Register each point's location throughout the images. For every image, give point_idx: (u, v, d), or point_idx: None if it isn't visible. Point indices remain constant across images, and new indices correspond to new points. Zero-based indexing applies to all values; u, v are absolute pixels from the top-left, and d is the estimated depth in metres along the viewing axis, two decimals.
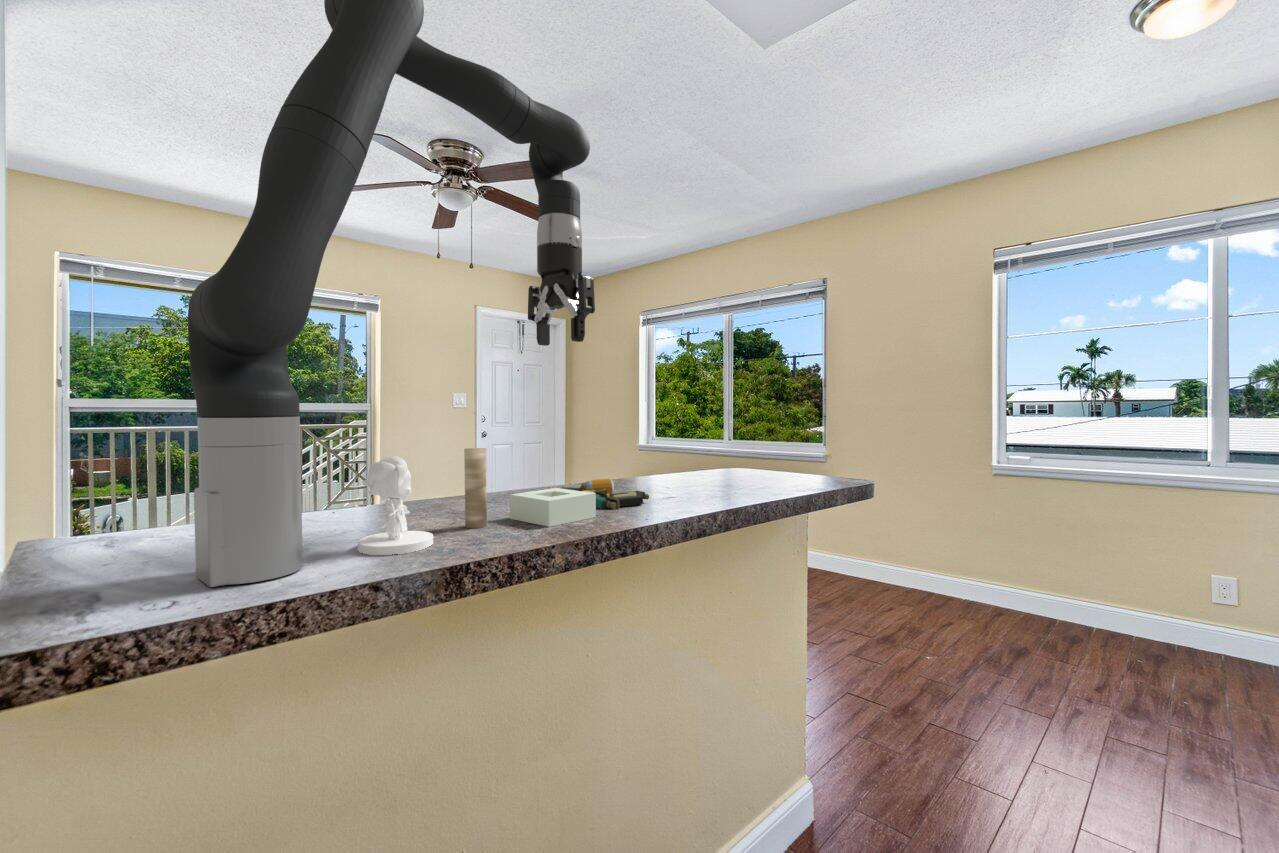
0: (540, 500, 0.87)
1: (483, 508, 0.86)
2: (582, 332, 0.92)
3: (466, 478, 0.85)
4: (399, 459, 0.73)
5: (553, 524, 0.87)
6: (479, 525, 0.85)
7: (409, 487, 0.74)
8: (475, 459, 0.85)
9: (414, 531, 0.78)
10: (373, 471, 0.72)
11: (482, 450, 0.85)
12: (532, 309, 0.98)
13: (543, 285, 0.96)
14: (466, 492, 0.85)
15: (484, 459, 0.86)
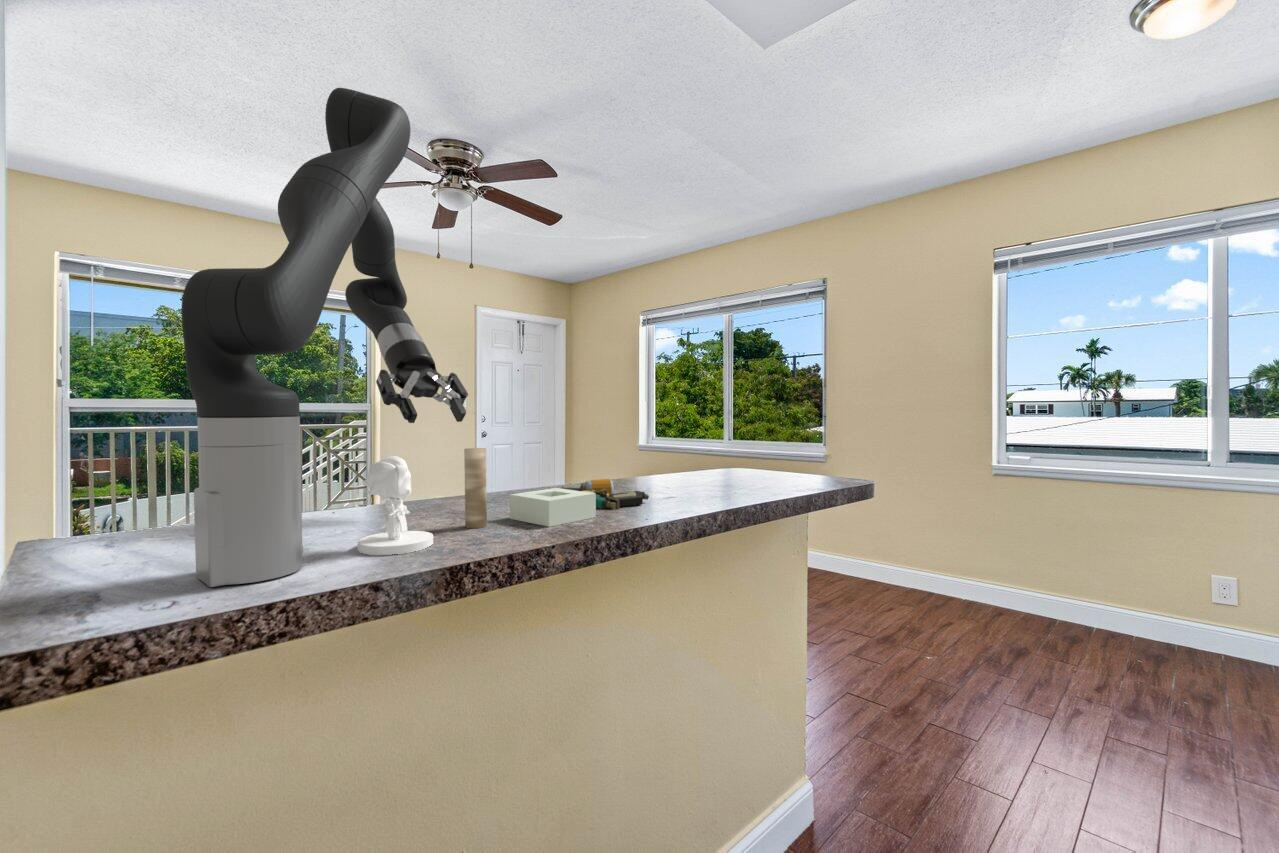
0: (540, 500, 0.87)
1: (483, 508, 0.86)
2: None
3: (466, 478, 0.85)
4: (399, 459, 0.73)
5: (553, 524, 0.87)
6: (479, 525, 0.85)
7: (409, 487, 0.74)
8: (475, 459, 0.85)
9: (414, 531, 0.78)
10: (373, 471, 0.72)
11: (482, 450, 0.86)
12: (392, 387, 0.92)
13: (403, 372, 0.95)
14: (466, 492, 0.85)
15: (484, 459, 0.86)
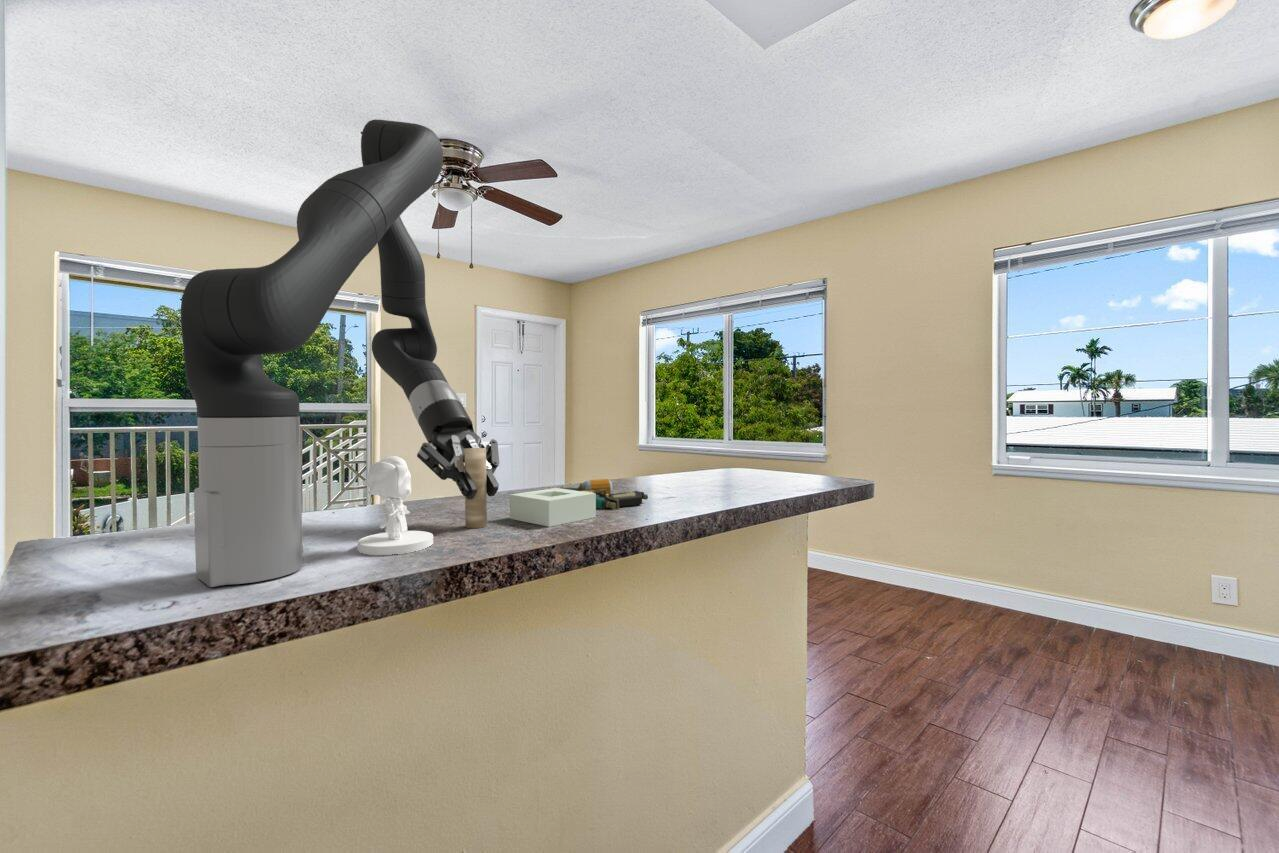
0: (540, 500, 0.87)
1: (483, 508, 0.86)
2: None
3: None
4: (399, 459, 0.73)
5: (553, 524, 0.87)
6: (479, 525, 0.85)
7: (409, 487, 0.74)
8: (475, 459, 0.85)
9: (414, 531, 0.78)
10: (373, 471, 0.72)
11: (482, 450, 0.86)
12: (445, 460, 0.84)
13: (439, 437, 0.87)
14: None
15: (484, 459, 0.86)
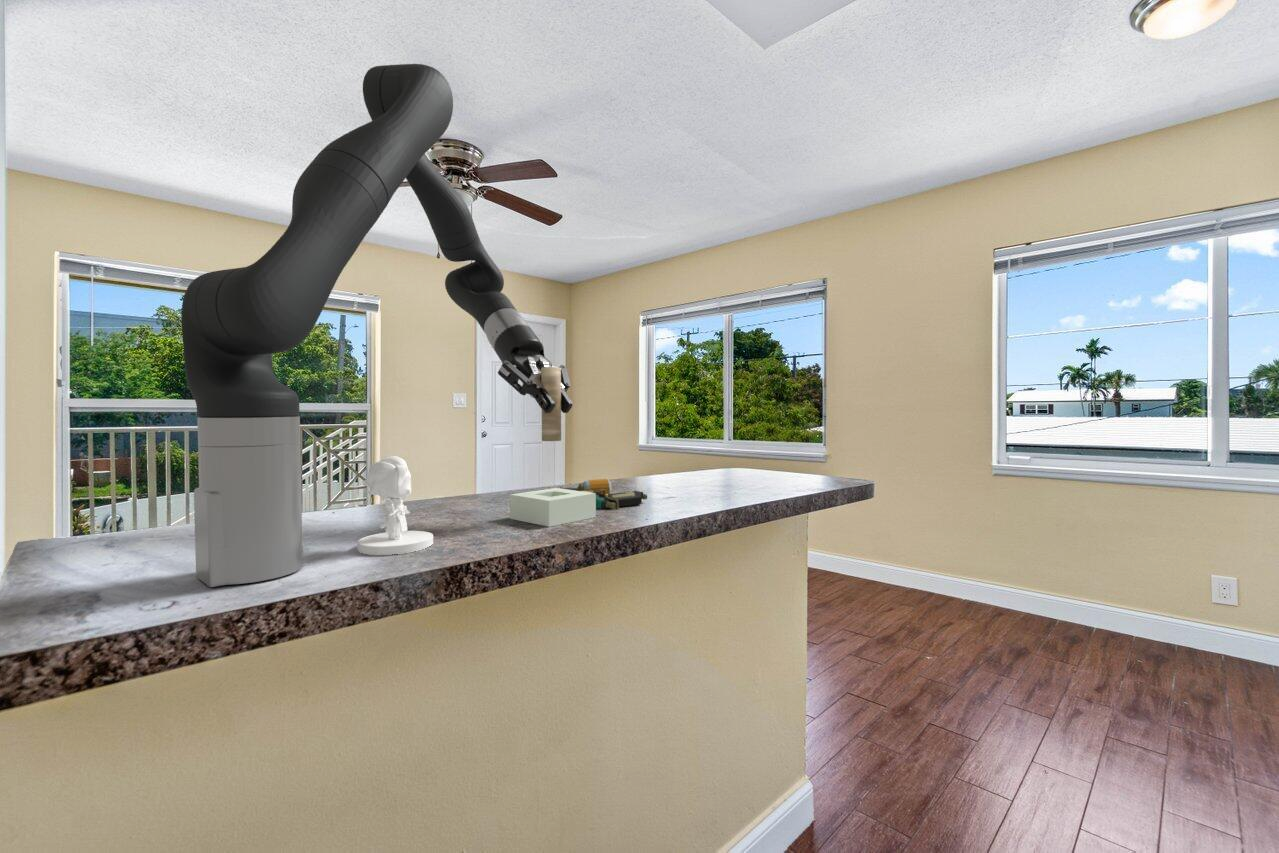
0: (540, 500, 0.87)
1: (559, 422, 0.92)
2: None
3: None
4: (399, 459, 0.73)
5: (553, 524, 0.87)
6: (555, 438, 0.92)
7: (409, 487, 0.74)
8: (552, 376, 0.91)
9: (414, 531, 0.78)
10: (373, 471, 0.72)
11: (558, 368, 0.92)
12: (524, 376, 0.90)
13: (517, 357, 0.93)
14: None
15: (560, 377, 0.92)
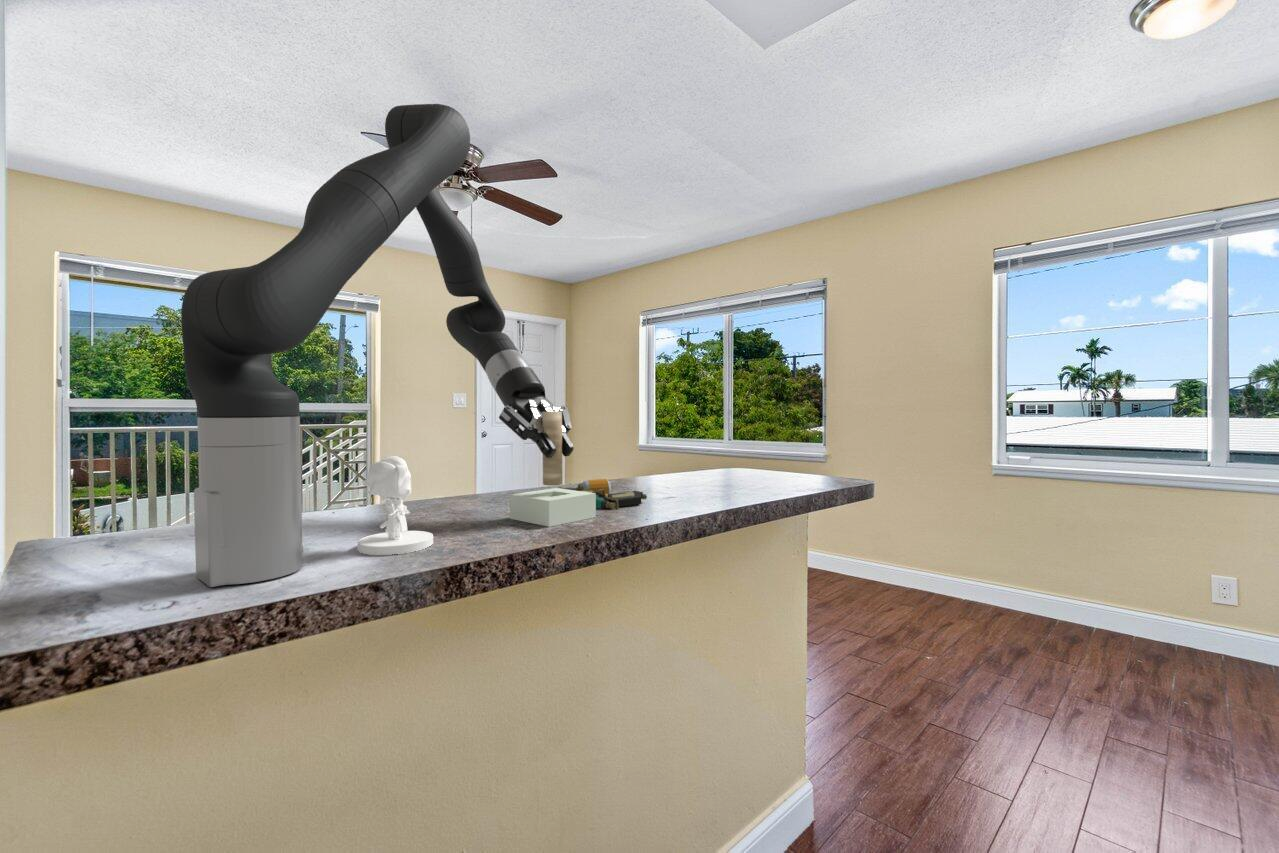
0: (540, 500, 0.87)
1: (560, 466, 0.92)
2: None
3: None
4: (399, 459, 0.73)
5: (553, 524, 0.87)
6: (556, 482, 0.92)
7: (409, 487, 0.74)
8: (553, 421, 0.91)
9: (414, 531, 0.78)
10: (373, 471, 0.72)
11: (559, 412, 0.92)
12: (525, 421, 0.91)
13: (518, 401, 0.93)
14: None
15: (561, 421, 0.92)
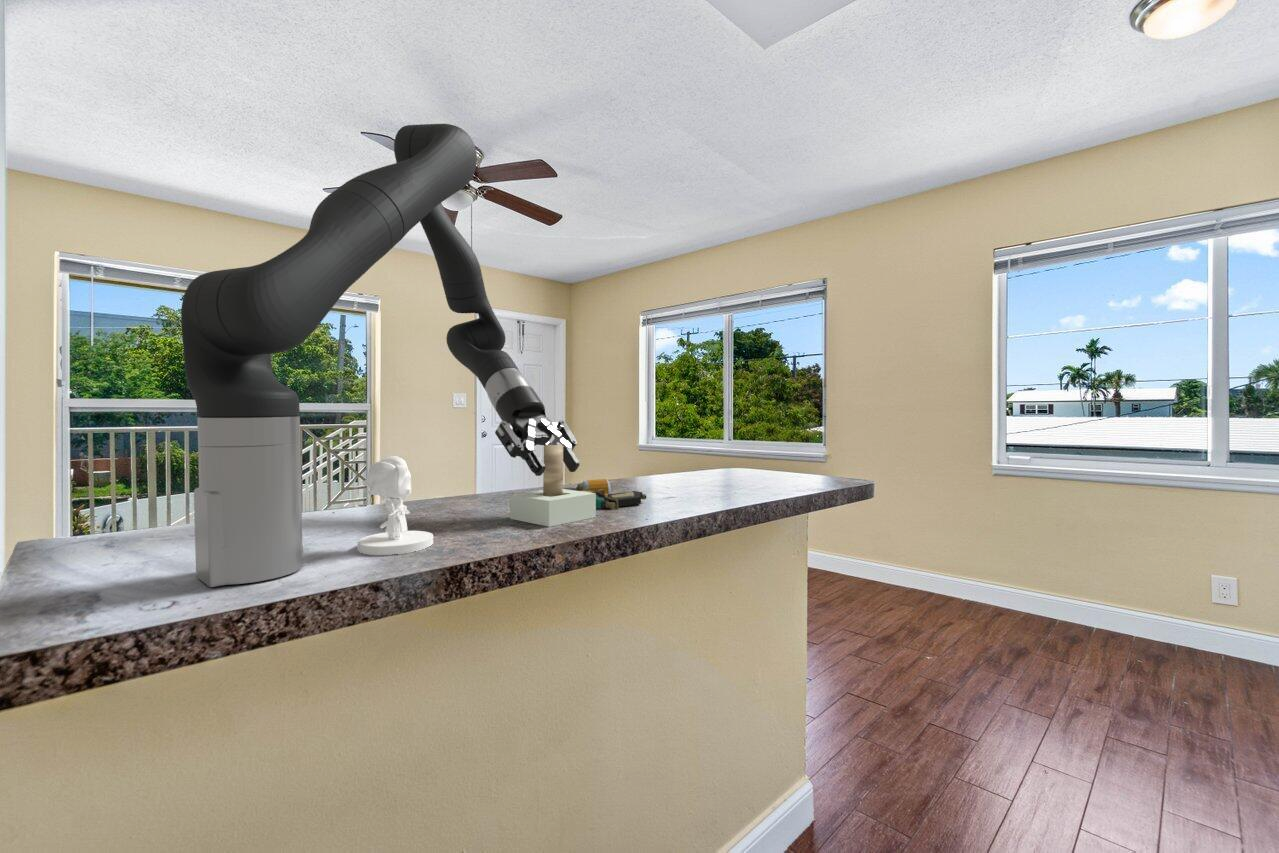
0: (540, 500, 0.87)
1: None
2: None
3: (545, 472, 0.92)
4: (399, 459, 0.73)
5: (553, 524, 0.87)
6: None
7: (409, 487, 0.74)
8: (554, 455, 0.92)
9: (414, 531, 0.78)
10: (373, 471, 0.72)
11: (560, 447, 0.92)
12: (517, 439, 0.90)
13: (519, 420, 0.94)
14: (545, 485, 0.92)
15: (562, 455, 0.93)
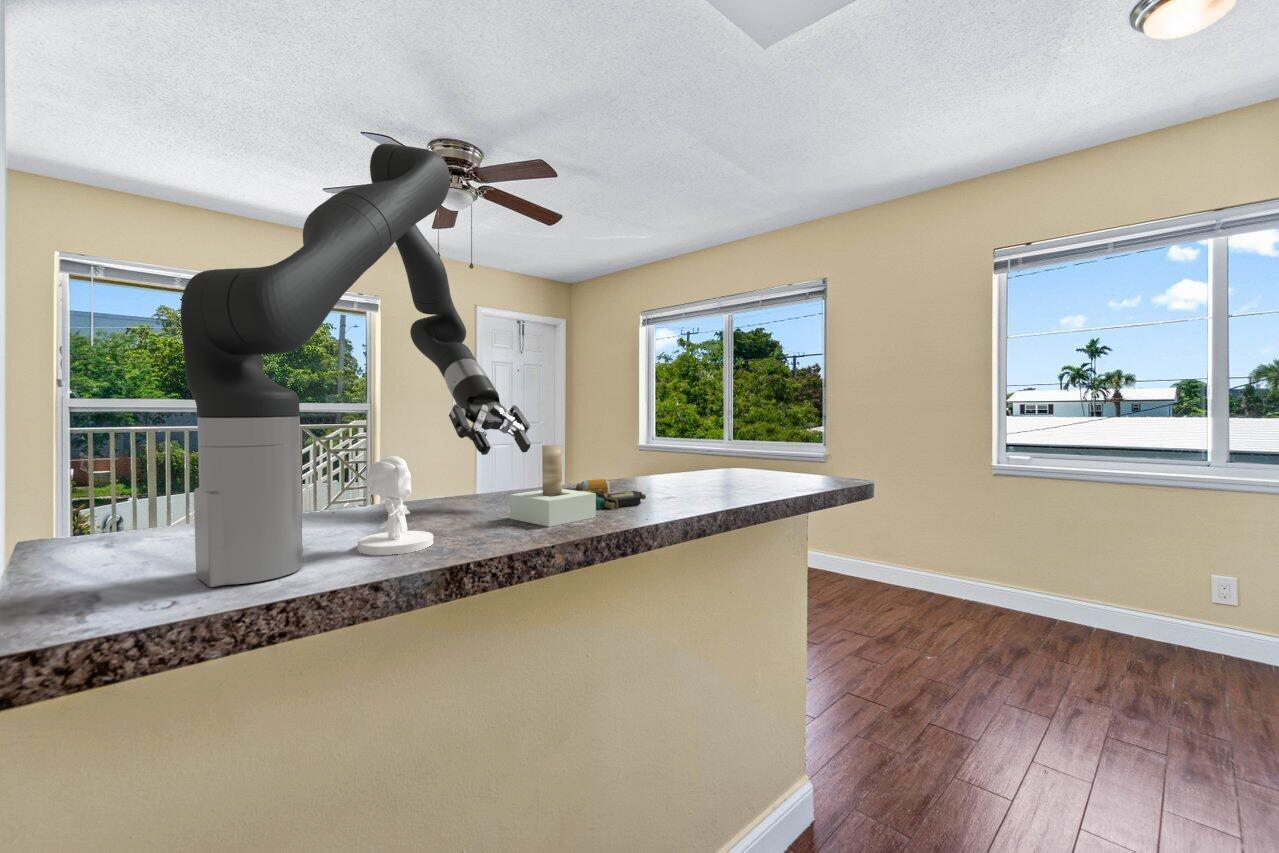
0: (540, 500, 0.87)
1: None
2: None
3: (544, 473, 0.92)
4: (399, 459, 0.73)
5: (553, 524, 0.87)
6: None
7: (409, 487, 0.74)
8: (553, 455, 0.91)
9: (414, 531, 0.78)
10: (373, 471, 0.72)
11: (559, 447, 0.92)
12: (466, 421, 0.98)
13: (473, 406, 1.02)
14: (544, 486, 0.92)
15: (560, 455, 0.92)
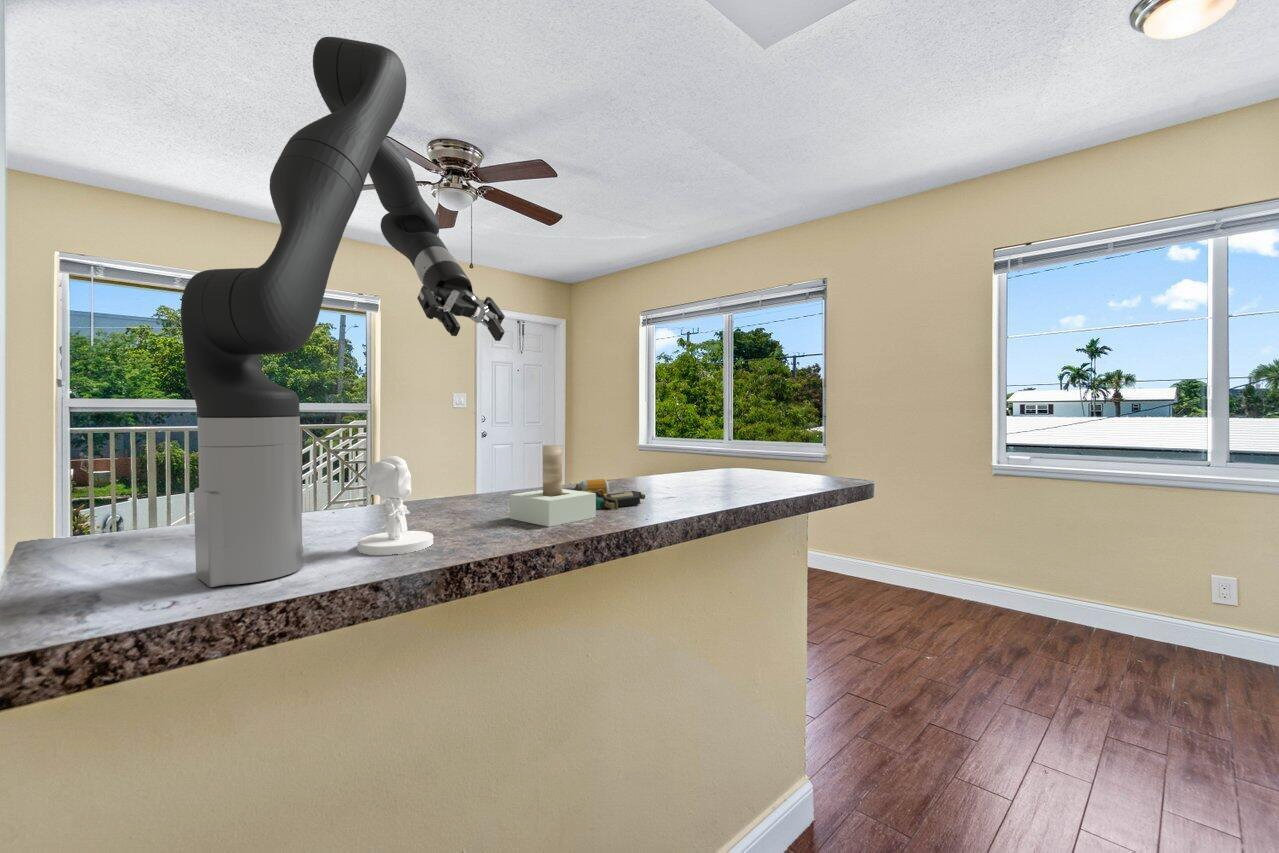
0: (540, 500, 0.87)
1: None
2: None
3: (545, 473, 0.92)
4: (399, 459, 0.73)
5: (553, 524, 0.87)
6: None
7: (409, 487, 0.74)
8: (553, 455, 0.91)
9: (414, 531, 0.78)
10: (373, 471, 0.72)
11: (559, 447, 0.92)
12: (435, 301, 0.93)
13: (443, 290, 0.97)
14: (544, 486, 0.92)
15: (561, 455, 0.92)
